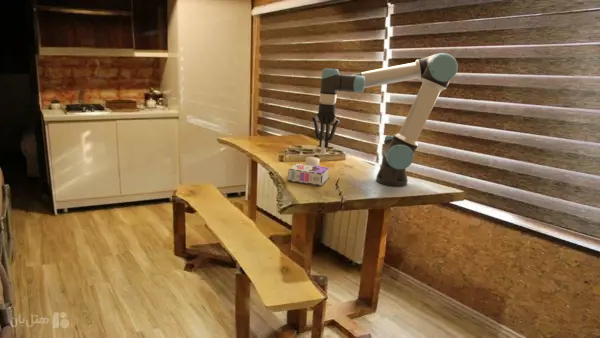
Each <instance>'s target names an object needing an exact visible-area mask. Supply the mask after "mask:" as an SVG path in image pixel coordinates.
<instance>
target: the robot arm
mask: <svg viewBox="0 0 600 338" xmlns="http://www.w3.org/2000/svg"><path fill="white" fill-rule="evenodd" d="M458 65H459V64H458V61H457V60H456V58H455V57H454V56H453V55H451V54H449V53H446V52H440V53H434V54H432V55H430V56H426V57H423V58H418V59H416V60H415V62H410V63H405V64H398V65H393V66H388V67H381V68H378V69H377V68H376V69H372V70H371V69H370V70H367V71H361V72H356V73H349V74H346V73H345V74H342V73H340V70H339V69H338V68H327V67H326V68H323V69H322V70H321V71H322V72H321V78H320V89H319V90H320V91H319V92H320V93H319V103H318V112H317V115H316V116H314V117H312V118H311V120H312V121H313V124H314V125H313V126H314V132H315V138H316V139H317V140H319V145H318V147H319V148H320V154H319V155H321V156H324V155H326V154H327V153H326V152H327V151H326V150H327V148H328V147H329V142H330V141H332V140H333V139H334V136H335V134H336V130H337V128H338V125H339V124H340V122H341V120H340V119H338V118H336V104H337V103H336V102H337V95H338V93H337V92H338V91H339V92H347V93H355V94H356V93H357V94H359V93H361V94H362V93H363V92H365V89H367V88H373V87H378V86H382V85H383V86H384V85H389V84H395V83H400V82H406V81H411V80H418V81H421V82H422V83H421V86H420V88H419V90H418V92H417V95H416V97H415V99H414V101H413V103H412V105H411V107H410V109H409V111H408V113H407V116H406V118H405V120H404V122H403V123H402V125H401V128H400V130H399V132H398V133H394V134H393V135H386V136H384V140H383V150H382V151H383V152H382V158H381V159H382V160H381V165H380V168H379V170H378V172H377V175H376V182H377V183H378V184H382V185H385V186H390V187H391V186H392V187H405V186H408V181H409V179H408V175H407V171H406V170H407V168H409V167H410V166H411V165H412V163H413V161H414V157H415V153H416V151H417V149H418V146H419V144H418V139H419V136H420V135H421V133H422V131H423V128H424V127H425V124H426V123H427V120H428V118H429V116H430V114H431V113H432V110H433V108H434V106H435V104H436V102H437V101H438V98H439V96H440V93H442V91H444V90H447V87H448V86H449V84H450V81H451V80H452V79H454V77H455V76H456V75H457V73H458V70H459V69H458V68H459V66H458ZM319 122H320V124H319ZM332 123H333V125H332ZM331 126H332V128H331Z"/></svg>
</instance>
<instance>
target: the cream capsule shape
mask: <svg viewBox="0 0 600 338" xmlns="http://www.w3.org/2000/svg"><path fill="white" fill-rule="evenodd" d="M320 161H321V159H320V158H319V157H315V156H307V157H305V165H312V166H320Z"/></svg>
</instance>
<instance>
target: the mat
mask: <svg viewBox="0 0 600 338" xmlns="http://www.w3.org/2000/svg"><path fill="white" fill-rule="evenodd" d="M329 179H330V177H329V176H328V179H327V180H329ZM291 182H293V183H297V184H304V185H307V183H300V182H294V181H291ZM312 185H314V184H311V185H310V186H312ZM315 187H317V185H316V186H315Z"/></svg>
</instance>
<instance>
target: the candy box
mask: <svg viewBox="0 0 600 338" xmlns="http://www.w3.org/2000/svg"><path fill="white" fill-rule="evenodd" d="M328 177H329V167H327V166H320V165H319V166H312V165H306V164H302V163H295V164H294V165H292V166H291V167H290V168H288V170H287V181H289V182H292V181H294V182H293V183H296V182H300V183H299V184H301V183H307V184H314V185H318V186H322V185H323V184H324V183H326V181H328V180H329V179H328ZM307 184H306V185H307Z"/></svg>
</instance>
